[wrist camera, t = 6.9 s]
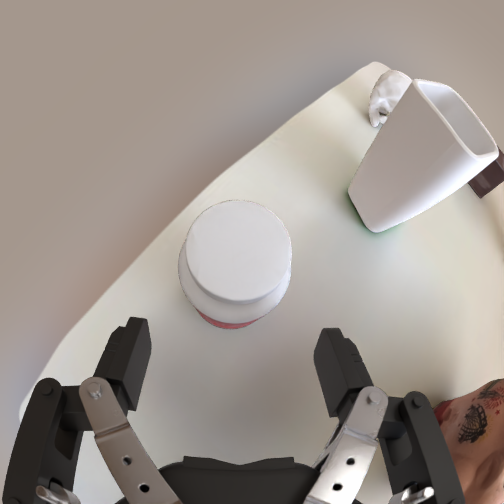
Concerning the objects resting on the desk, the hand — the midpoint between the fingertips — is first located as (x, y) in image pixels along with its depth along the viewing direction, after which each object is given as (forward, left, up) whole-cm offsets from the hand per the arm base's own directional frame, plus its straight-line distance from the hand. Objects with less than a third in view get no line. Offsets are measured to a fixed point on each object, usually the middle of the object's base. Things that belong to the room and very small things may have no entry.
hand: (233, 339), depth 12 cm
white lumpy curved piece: (+29, +18, -10) cm, 36 cm away
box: (+43, +9, -10) cm, 45 cm away
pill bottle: (+1, +4, -10) cm, 11 cm away
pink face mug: (+18, -19, -10) cm, 28 cm away
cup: (+18, +8, -10) cm, 22 cm away
